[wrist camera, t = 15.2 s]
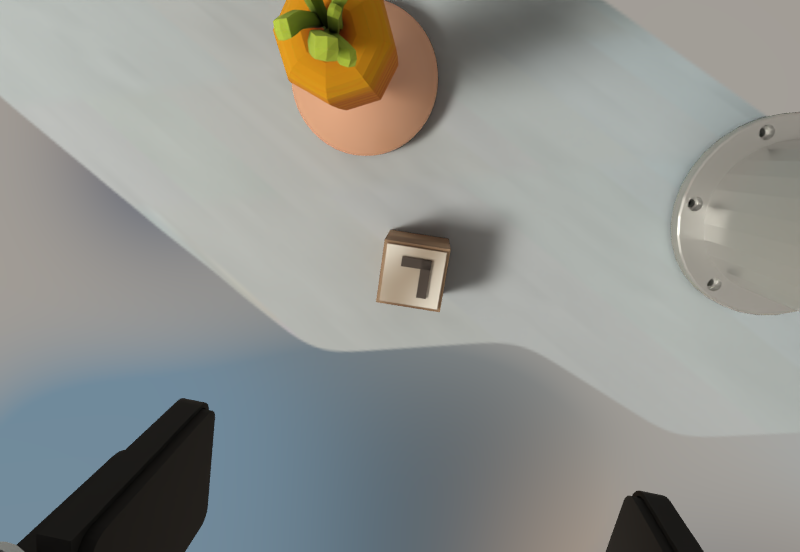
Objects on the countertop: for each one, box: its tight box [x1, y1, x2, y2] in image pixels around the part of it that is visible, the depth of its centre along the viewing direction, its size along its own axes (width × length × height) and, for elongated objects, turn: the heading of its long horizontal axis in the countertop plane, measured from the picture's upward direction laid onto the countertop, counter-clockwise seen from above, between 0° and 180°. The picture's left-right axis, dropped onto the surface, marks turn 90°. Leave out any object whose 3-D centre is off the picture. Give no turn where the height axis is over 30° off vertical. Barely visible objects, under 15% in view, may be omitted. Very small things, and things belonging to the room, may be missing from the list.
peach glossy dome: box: [292, 1, 438, 156], centre depth 29 cm, size 9×9×1 cm
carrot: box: [273, 0, 398, 110], centre depth 22 cm, size 5×5×15 cm
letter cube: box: [376, 230, 451, 312], centre depth 31 cm, size 4×4×4 cm
